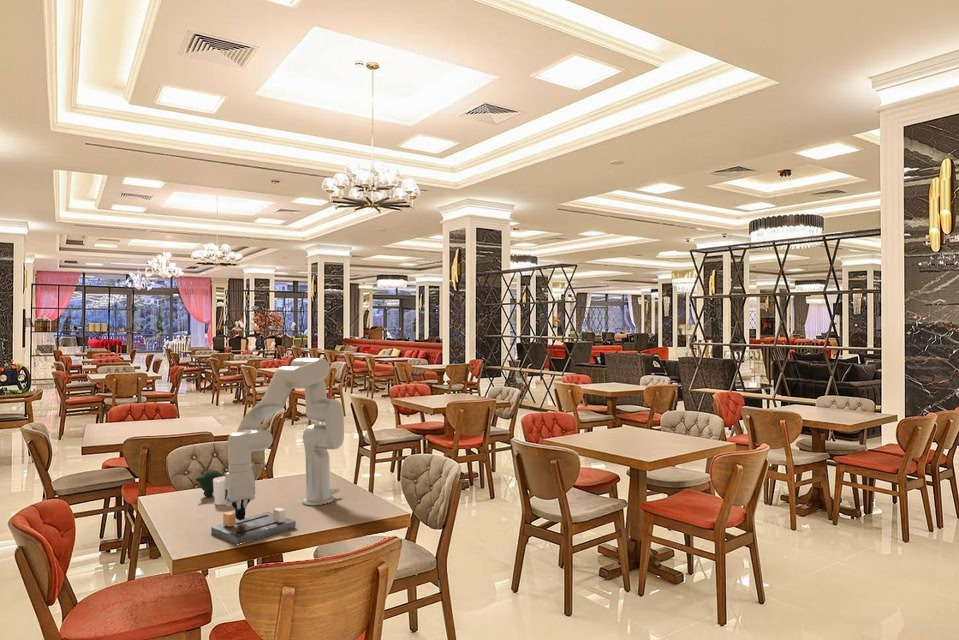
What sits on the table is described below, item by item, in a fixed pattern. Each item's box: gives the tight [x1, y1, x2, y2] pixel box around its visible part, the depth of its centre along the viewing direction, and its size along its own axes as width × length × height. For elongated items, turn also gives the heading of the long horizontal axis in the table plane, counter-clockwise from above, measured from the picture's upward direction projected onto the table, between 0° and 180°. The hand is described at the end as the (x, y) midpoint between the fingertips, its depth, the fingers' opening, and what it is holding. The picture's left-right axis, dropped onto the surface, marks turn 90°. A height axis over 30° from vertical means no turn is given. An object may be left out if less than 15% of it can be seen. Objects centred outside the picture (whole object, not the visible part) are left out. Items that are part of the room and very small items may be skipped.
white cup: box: [213, 475, 226, 506], centre depth 256 cm, size 8×8×10 cm
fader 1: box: [222, 511, 237, 527], centre depth 218 cm, size 2×4×5 cm, turn 50°
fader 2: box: [272, 507, 287, 523], centre depth 222 cm, size 2×4×5 cm, turn 50°
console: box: [210, 511, 297, 545], centre depth 219 cm, size 22×18×3 cm
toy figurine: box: [195, 469, 226, 498], centre depth 270 cm, size 9×19×25 cm
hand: (240, 519), depth 221 cm, fingers closed
